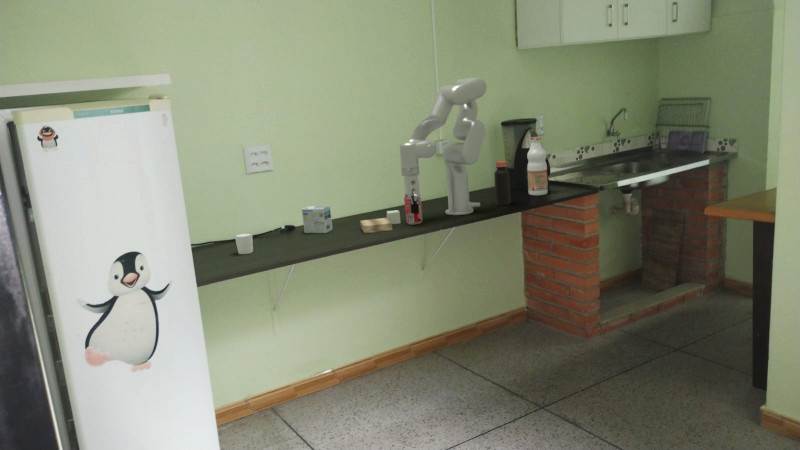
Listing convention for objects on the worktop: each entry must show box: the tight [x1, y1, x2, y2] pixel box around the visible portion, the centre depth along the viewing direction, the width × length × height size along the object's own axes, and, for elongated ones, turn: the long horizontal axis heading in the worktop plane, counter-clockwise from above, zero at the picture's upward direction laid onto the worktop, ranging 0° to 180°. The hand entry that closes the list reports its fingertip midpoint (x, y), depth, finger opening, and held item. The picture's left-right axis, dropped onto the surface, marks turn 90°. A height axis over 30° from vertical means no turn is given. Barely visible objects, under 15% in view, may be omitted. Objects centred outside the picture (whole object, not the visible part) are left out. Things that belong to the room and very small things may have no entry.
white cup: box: [234, 232, 254, 255], centre depth 268 cm, size 7×7×7 cm
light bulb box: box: [301, 205, 333, 234], centre depth 294 cm, size 11×7×11 cm, turn 71°
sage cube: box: [386, 209, 402, 225], centre depth 299 cm, size 5×5×5 cm
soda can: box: [403, 193, 424, 226], centre depth 294 cm, size 7×7×13 cm
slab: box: [359, 217, 393, 234], centre depth 291 cm, size 12×12×3 cm
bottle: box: [494, 160, 511, 207], centre depth 318 cm, size 7×7×20 cm
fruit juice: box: [526, 136, 549, 196], centre depth 335 cm, size 9×9×28 cm
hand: (412, 211), depth 294 cm, fingers open, 9 cm apart
